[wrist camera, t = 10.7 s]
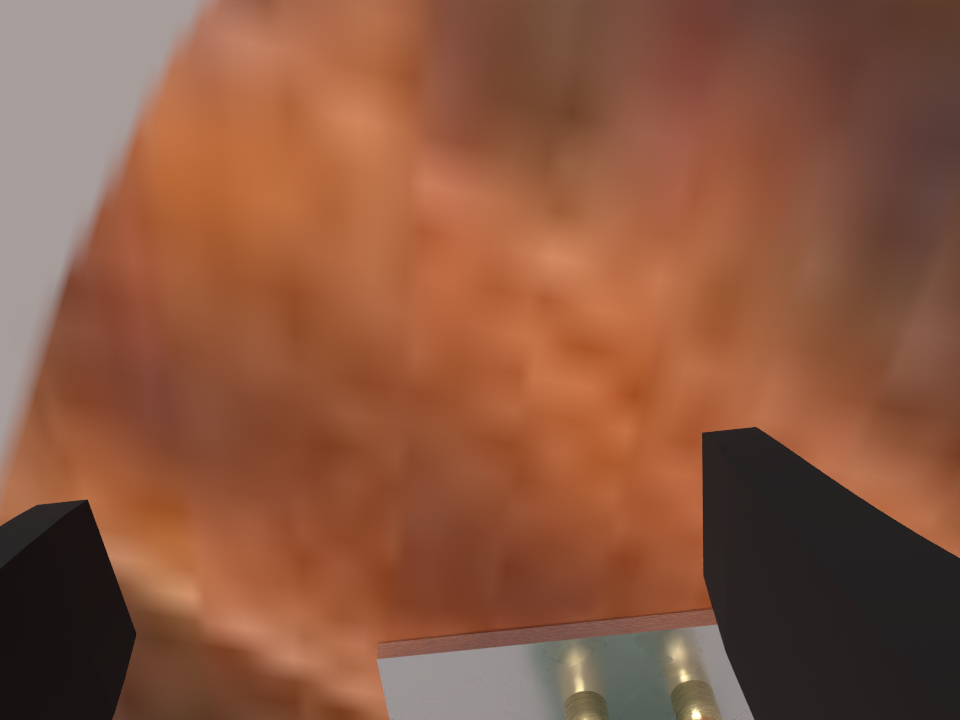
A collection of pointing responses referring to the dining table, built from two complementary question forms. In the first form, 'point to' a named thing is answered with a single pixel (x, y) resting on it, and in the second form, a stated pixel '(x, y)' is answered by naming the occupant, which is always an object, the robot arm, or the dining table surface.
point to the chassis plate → (560, 670)
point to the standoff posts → (688, 699)
